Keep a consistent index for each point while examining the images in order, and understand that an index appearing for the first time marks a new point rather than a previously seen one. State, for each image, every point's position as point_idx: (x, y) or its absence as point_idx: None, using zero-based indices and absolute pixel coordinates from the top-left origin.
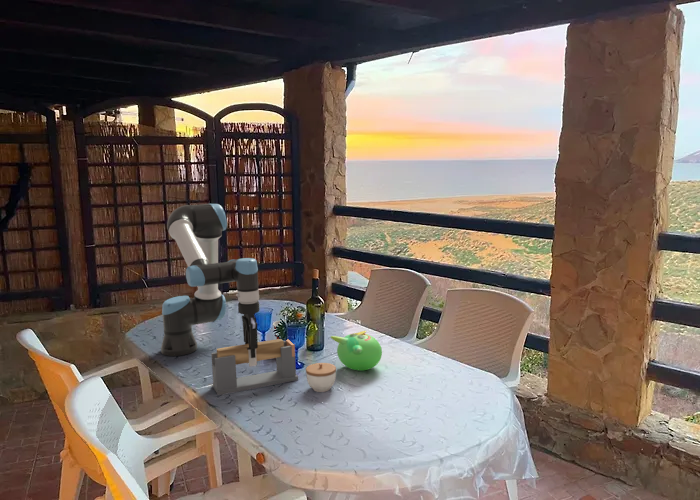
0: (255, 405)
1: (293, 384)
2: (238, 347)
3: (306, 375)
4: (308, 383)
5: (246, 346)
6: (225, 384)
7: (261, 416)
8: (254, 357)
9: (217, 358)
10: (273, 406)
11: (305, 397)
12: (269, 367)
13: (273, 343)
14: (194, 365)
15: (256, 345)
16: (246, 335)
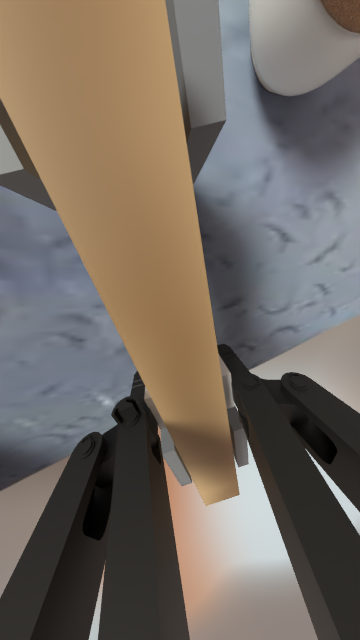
0: (286, 301)
1: (204, 180)
2: (224, 457)
3: (326, 59)
4: (303, 92)
5: (224, 432)
6: None
7: (337, 289)
8: (225, 348)
9: (245, 461)
10: (312, 262)
11: (316, 151)
12: (28, 260)
13: (193, 212)
14: (38, 433)
15: (326, 398)
16: (176, 562)
